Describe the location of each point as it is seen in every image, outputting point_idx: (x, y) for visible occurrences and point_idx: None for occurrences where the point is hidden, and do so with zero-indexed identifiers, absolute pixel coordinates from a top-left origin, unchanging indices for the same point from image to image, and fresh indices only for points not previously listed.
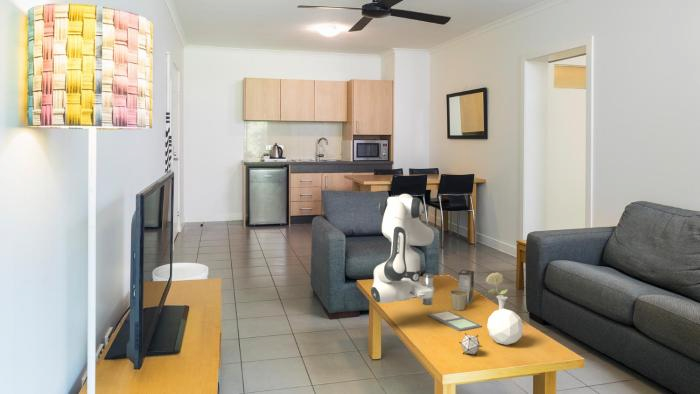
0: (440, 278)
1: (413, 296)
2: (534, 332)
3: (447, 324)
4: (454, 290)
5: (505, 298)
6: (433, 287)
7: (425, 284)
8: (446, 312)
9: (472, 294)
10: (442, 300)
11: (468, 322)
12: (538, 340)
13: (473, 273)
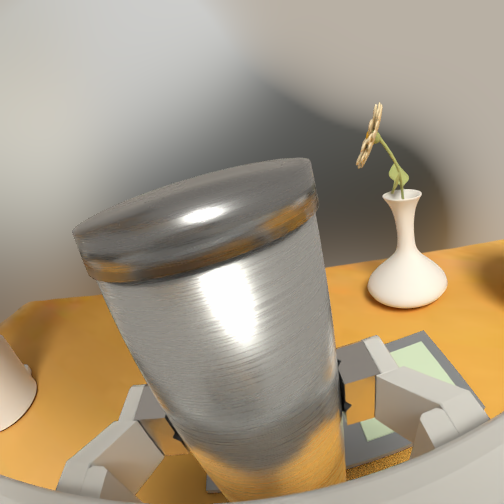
0: (28, 310)
1: (22, 410)
2: (450, 251)
3: (398, 449)
4: None
5: (419, 191)
6: (380, 340)
7: (292, 412)
8: None
9: None
10: (105, 361)
11: None
12: (501, 252)
13: None
